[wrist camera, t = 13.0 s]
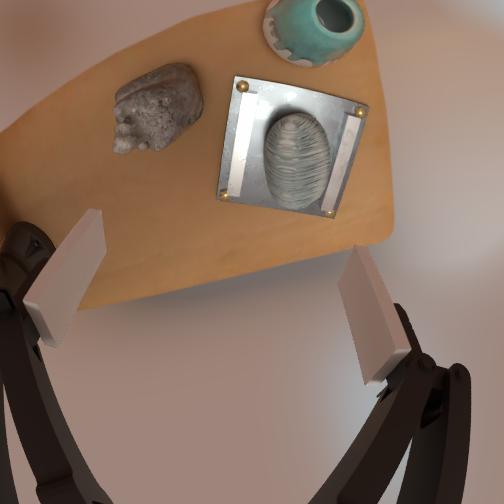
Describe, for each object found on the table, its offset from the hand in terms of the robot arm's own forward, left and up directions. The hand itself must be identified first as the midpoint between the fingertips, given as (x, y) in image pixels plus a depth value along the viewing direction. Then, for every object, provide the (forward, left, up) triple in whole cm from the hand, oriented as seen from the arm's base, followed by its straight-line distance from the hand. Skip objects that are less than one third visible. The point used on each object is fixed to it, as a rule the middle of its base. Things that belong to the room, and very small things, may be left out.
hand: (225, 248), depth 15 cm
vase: (+6, +15, -33) cm, 37 cm away
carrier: (+8, -4, -33) cm, 34 cm away
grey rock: (+8, -4, -32) cm, 33 cm away
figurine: (-12, +1, -33) cm, 35 cm away
